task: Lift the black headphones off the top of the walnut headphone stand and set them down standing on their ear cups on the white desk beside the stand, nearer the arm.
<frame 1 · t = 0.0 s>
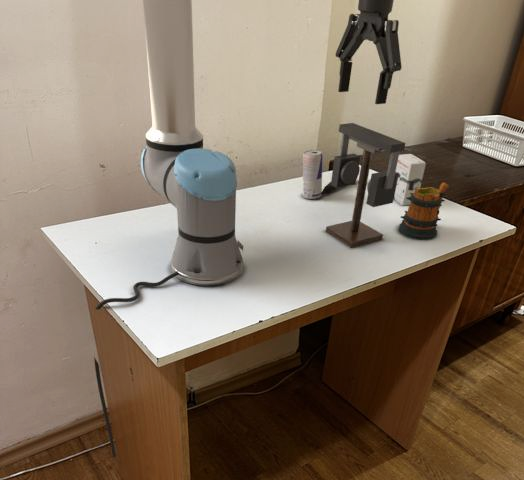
hand: (361, 97, 124), 28 cm above the table, tool pointing down, fingers open, 13 cm apart
mug: (420, 231, 131), on the table
ink box: (401, 200, 148), on the table
microphone: (335, 188, 153), on the table, touching energy drink
stand: (353, 235, 127), on the table
headphones: (360, 193, 120), point 11 cm above the table, touching stand
energy drink: (312, 196, 146), on the table, touching microphone
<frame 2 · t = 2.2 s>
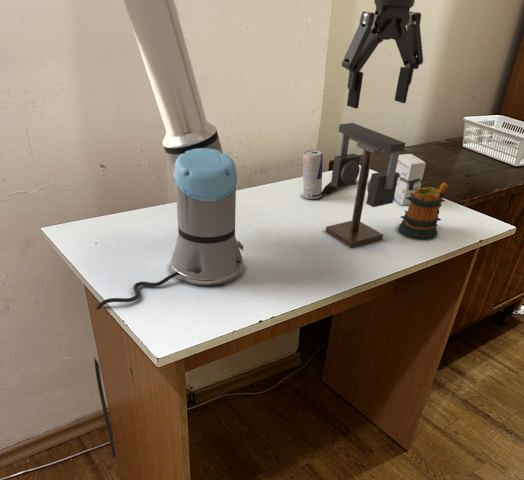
hand: (376, 104, 108), 30 cm above the table, tool pointing down, fingers open, 13 cm apart
nothing on the table moved.
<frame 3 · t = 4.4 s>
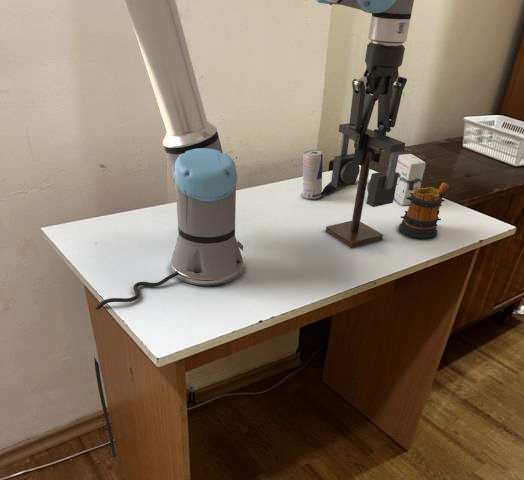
hand: (366, 161, 116), 18 cm above the table, tool pointing down, fingers closed on headphones, 4 cm apart
headphones: (360, 193, 120), point 11 cm above the table, touching gripper, stand
everything else where it was.
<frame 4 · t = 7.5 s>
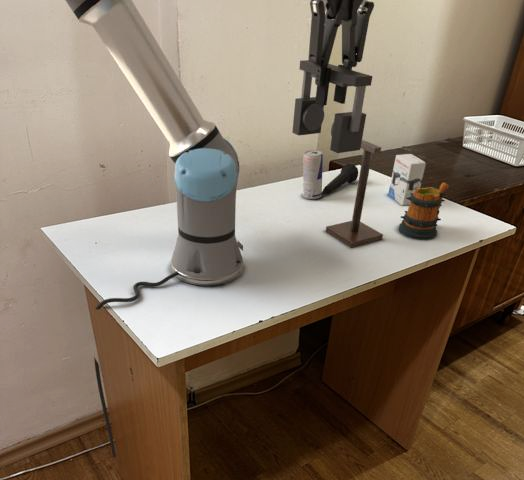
hand: (330, 102, 102), 31 cm above the table, tool pointing down, fingers closed on headphones, 4 cm apart
headphones: (325, 141, 107), point 24 cm above the table, touching gripper
everything else where it was.
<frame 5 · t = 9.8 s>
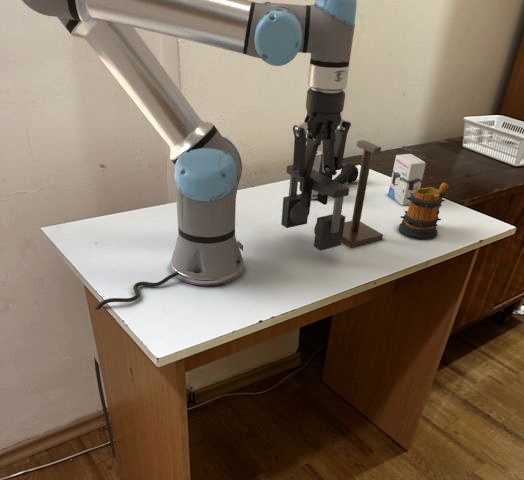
hand: (313, 203, 114), 11 cm above the table, tool pointing down, fingers closed on headphones, 4 cm apart
headphones: (310, 234, 119), point 3 cm above the table, touching gripper
everything else where it was.
when the fingers open (7 cm above the table, at t = 11.0 s): headphones stays where it is, on the table.
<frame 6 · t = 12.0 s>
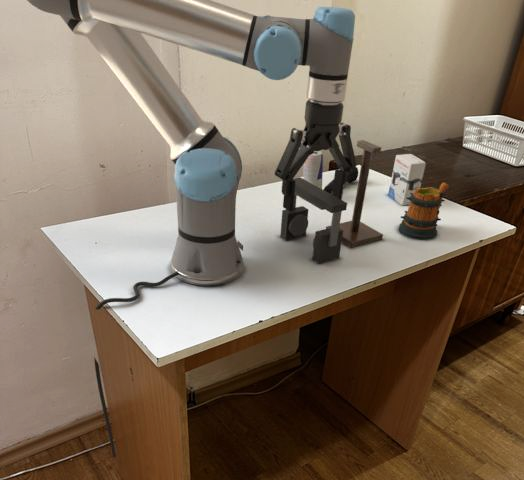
hand: (312, 204, 114), 10 cm above the table, tool pointing down, fingers open, 13 cm apart
headphones: (308, 247, 121), on the table
everything else where it was.
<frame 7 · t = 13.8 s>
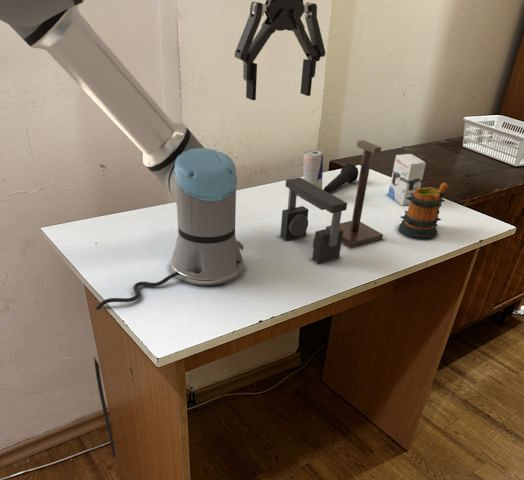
hand: (278, 96, 107), 31 cm above the table, tool pointing down, fingers open, 13 cm apart
nothing on the table moved.
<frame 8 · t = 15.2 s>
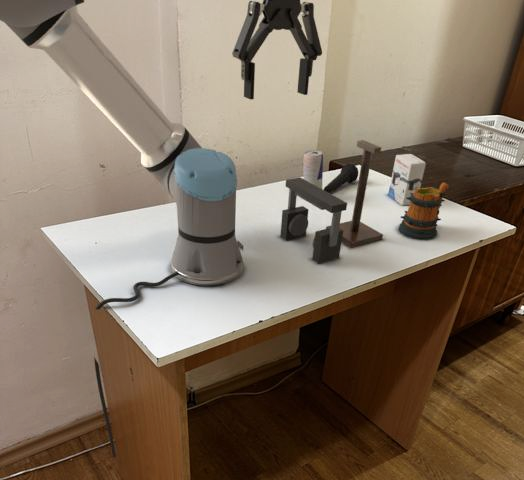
hand: (276, 95, 108), 31 cm above the table, tool pointing down, fingers open, 13 cm apart
nothing on the table moved.
at the end: headphones inside the target area (0.1 cm from its centre), on the table; headphones tilted 0°; headphones touching table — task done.
